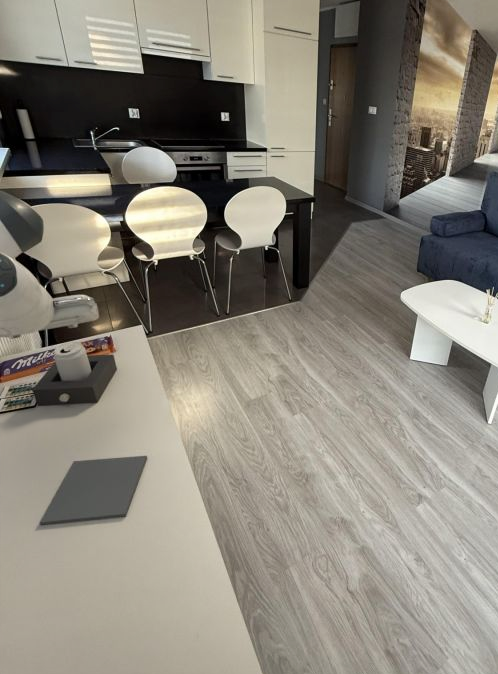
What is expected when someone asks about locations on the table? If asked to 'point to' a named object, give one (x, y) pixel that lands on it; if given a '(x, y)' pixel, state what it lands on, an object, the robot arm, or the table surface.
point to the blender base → (76, 384)
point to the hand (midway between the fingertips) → (45, 329)
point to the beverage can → (72, 362)
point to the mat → (95, 490)
